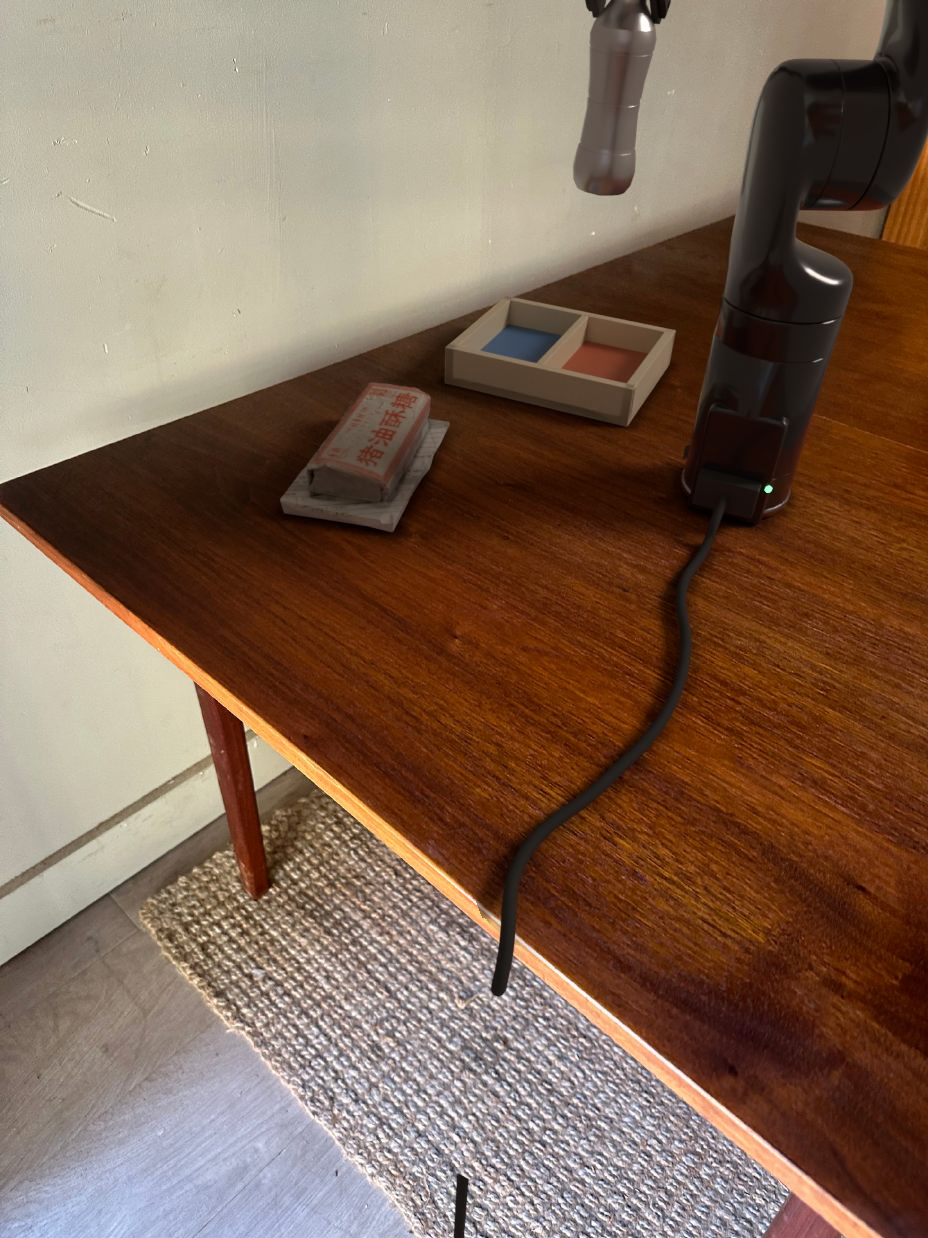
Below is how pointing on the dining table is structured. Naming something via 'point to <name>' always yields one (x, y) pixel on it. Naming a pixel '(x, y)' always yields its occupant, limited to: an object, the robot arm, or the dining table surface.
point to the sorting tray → (561, 359)
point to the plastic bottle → (614, 97)
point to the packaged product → (370, 460)
